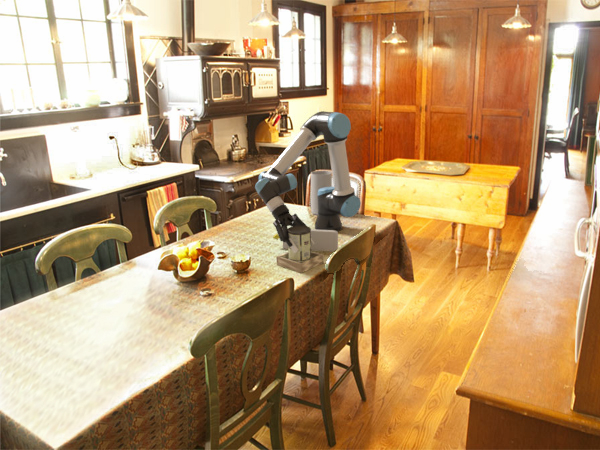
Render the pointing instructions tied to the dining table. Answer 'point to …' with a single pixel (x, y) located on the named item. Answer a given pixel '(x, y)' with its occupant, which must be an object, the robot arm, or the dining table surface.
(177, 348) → the dining table surface
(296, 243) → the coffee can
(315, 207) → the cylinder vase
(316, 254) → the square tray
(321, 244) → the decorative sign
